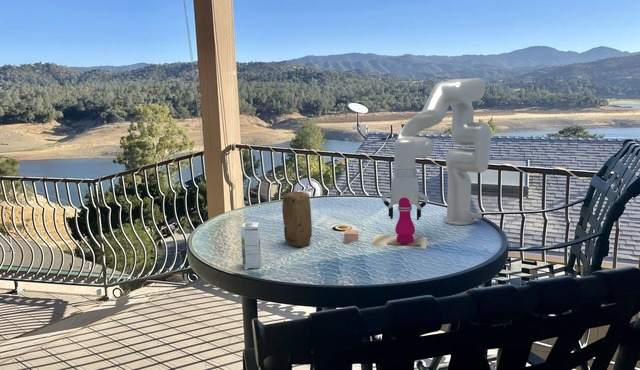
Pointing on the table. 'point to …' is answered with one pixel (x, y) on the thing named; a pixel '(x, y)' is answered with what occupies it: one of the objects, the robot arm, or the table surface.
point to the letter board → (392, 242)
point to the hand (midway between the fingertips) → (404, 218)
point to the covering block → (350, 236)
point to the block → (297, 218)
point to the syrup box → (251, 245)
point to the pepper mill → (405, 223)
